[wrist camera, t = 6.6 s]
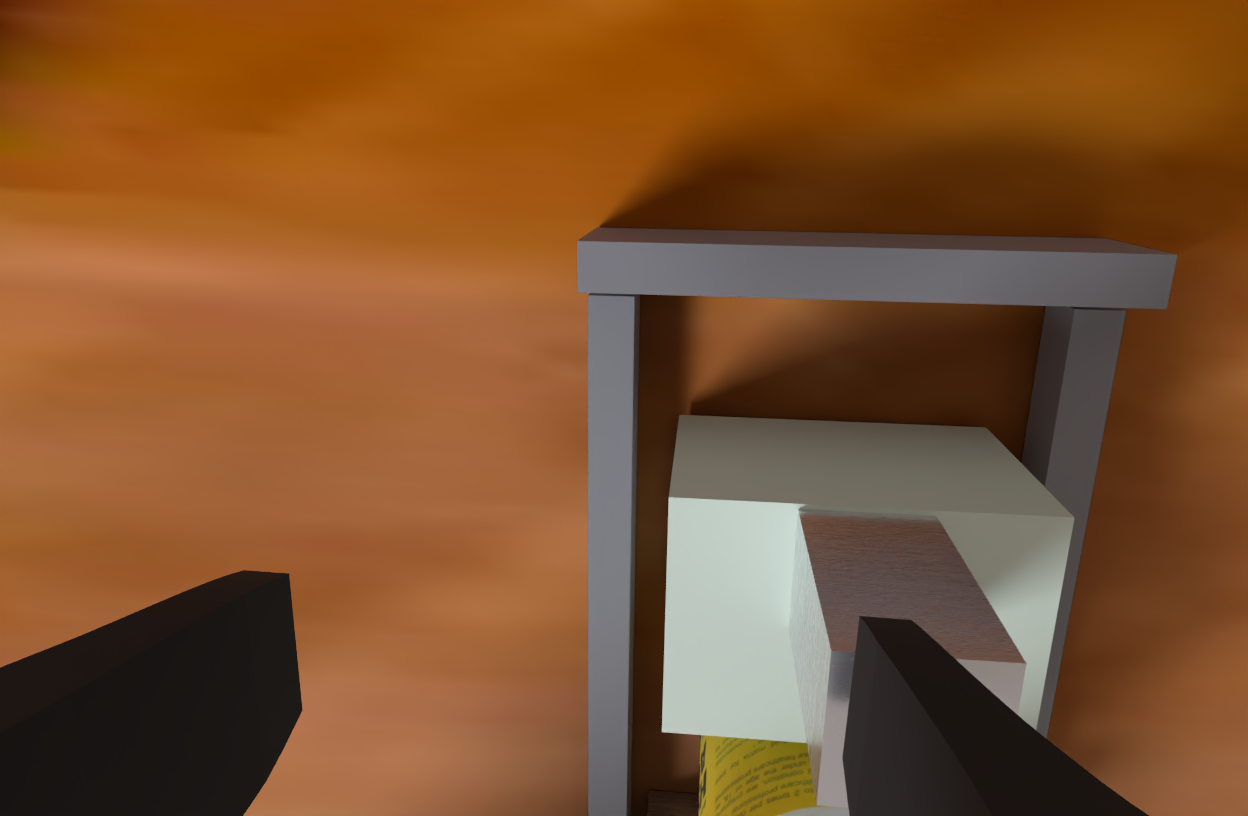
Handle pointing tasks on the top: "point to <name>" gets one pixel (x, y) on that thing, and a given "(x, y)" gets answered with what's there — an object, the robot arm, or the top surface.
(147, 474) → the top surface
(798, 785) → the supplement bottle
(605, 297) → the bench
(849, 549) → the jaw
